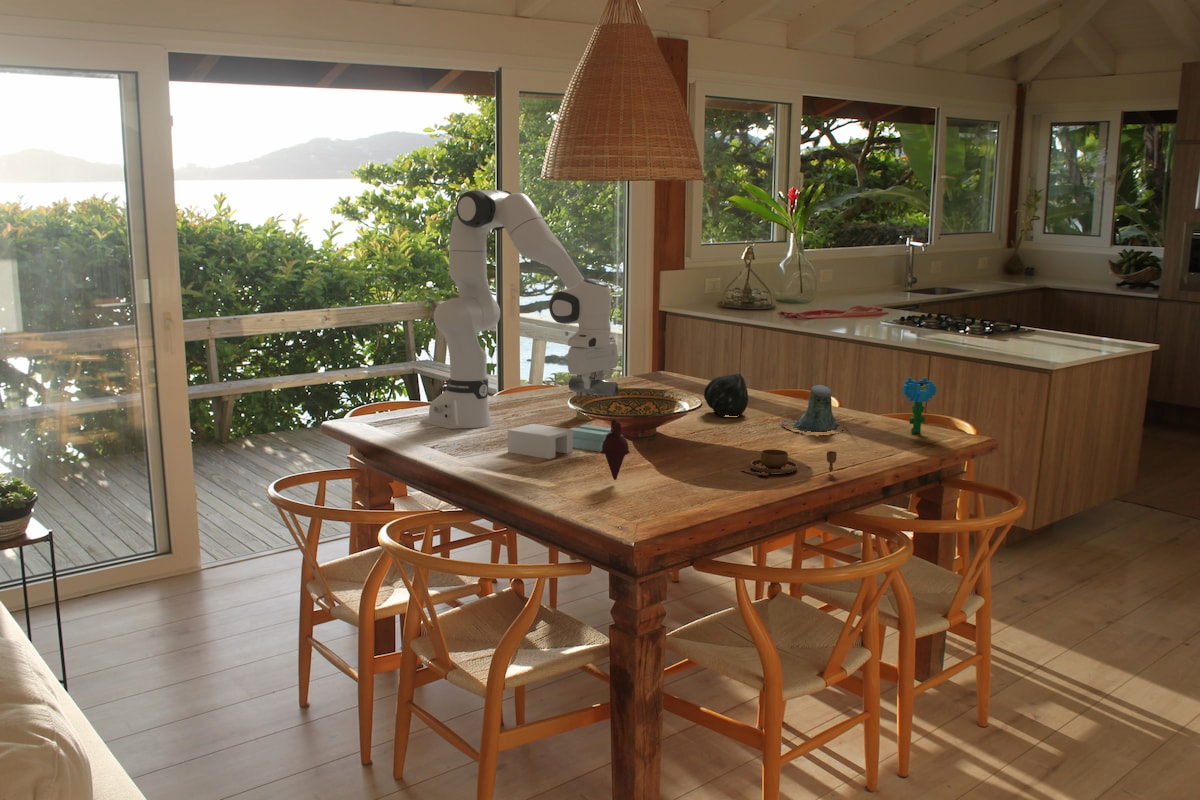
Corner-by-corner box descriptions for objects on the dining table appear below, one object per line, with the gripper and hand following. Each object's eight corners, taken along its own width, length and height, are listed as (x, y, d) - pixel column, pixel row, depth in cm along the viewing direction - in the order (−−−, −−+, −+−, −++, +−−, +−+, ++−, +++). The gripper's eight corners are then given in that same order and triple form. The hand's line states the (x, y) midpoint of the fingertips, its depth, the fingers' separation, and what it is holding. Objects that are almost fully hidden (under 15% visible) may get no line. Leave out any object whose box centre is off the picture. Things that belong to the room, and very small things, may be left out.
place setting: (774, 461, 278) (775, 439, 277) (839, 474, 264) (840, 452, 263) (735, 471, 266) (735, 449, 265) (800, 486, 252) (801, 462, 251)
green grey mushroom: (832, 421, 326) (846, 373, 316) (846, 459, 309) (860, 410, 300) (775, 417, 325) (787, 369, 315) (785, 455, 308) (798, 405, 298)
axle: (568, 391, 291) (568, 377, 290) (576, 389, 294) (576, 375, 294) (610, 397, 284) (610, 383, 283) (618, 395, 287) (618, 381, 286)
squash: (740, 414, 340) (742, 369, 338) (753, 423, 326) (755, 376, 323) (698, 415, 339) (699, 370, 336) (709, 424, 324) (710, 377, 321)
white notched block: (507, 452, 282) (507, 429, 281) (531, 445, 291) (531, 423, 290) (549, 459, 274) (549, 436, 273) (572, 451, 283) (572, 429, 282)
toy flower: (927, 436, 309) (931, 377, 306) (935, 443, 300) (939, 382, 297) (897, 436, 310) (900, 376, 307) (904, 442, 301) (908, 381, 298)
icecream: (597, 477, 256) (598, 417, 253) (626, 476, 257) (627, 416, 255) (602, 484, 249) (603, 423, 247) (632, 483, 251) (633, 422, 248)
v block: (564, 446, 290) (564, 430, 290) (588, 438, 300) (588, 423, 300) (600, 451, 284) (600, 435, 283) (623, 444, 294) (623, 428, 293)
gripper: (605, 334, 296) (604, 381, 299) (564, 340, 280) (563, 390, 282) (624, 335, 293) (622, 383, 295) (583, 342, 276) (582, 393, 279)
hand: (593, 387), depth 289 cm, fingers closed on axle, 4 cm apart
